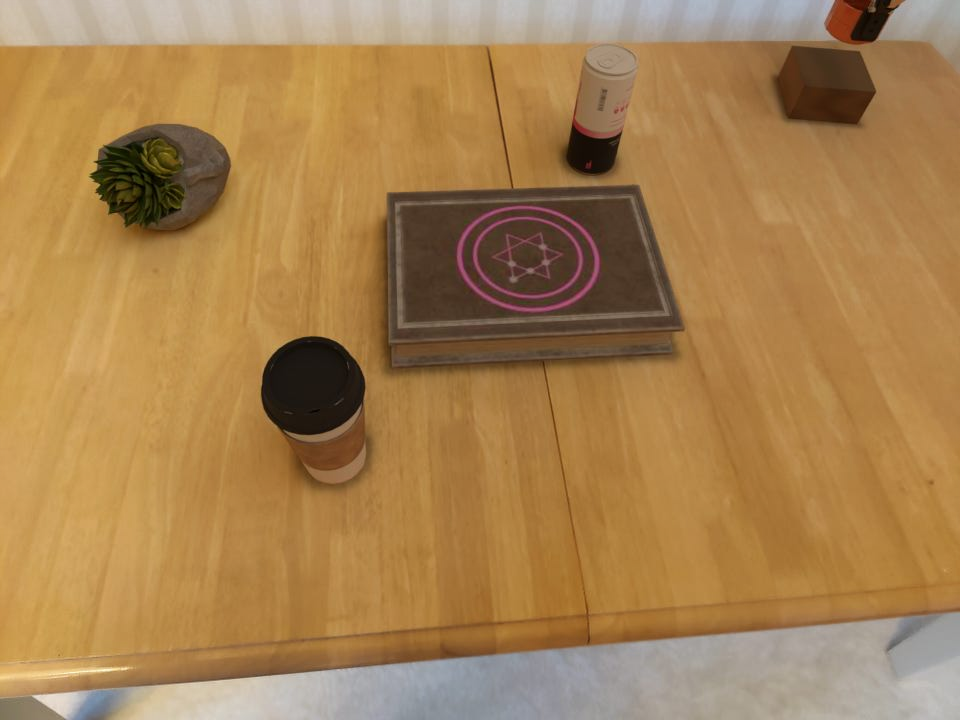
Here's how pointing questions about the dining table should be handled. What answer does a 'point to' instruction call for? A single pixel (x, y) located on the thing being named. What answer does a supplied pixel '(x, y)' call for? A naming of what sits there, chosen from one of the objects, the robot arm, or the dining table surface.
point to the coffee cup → (318, 405)
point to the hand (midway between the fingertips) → (855, 22)
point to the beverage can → (601, 107)
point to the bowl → (846, 19)
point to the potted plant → (162, 175)
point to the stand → (825, 85)
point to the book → (525, 277)
